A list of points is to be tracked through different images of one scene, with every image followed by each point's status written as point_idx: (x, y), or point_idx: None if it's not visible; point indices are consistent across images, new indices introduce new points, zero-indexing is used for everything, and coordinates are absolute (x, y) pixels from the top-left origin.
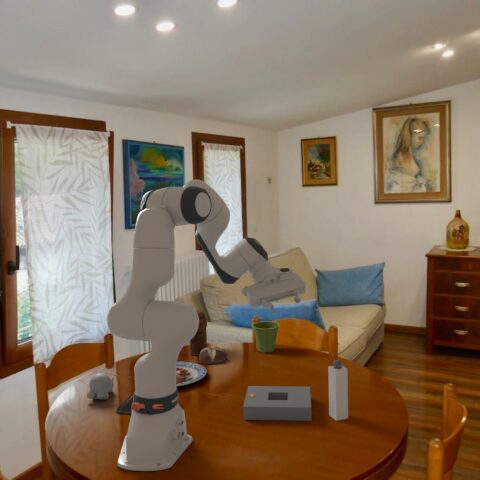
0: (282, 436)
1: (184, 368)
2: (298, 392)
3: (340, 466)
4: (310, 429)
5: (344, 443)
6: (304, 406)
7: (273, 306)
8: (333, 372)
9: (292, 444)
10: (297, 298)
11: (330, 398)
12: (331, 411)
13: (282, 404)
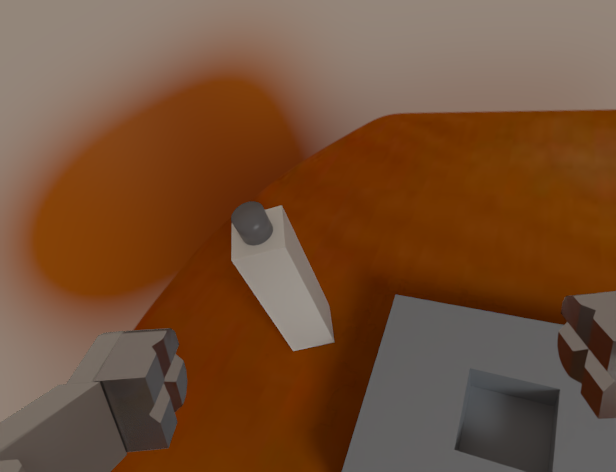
0: (512, 243)
1: None
2: (405, 435)
3: (402, 133)
4: (420, 269)
5: (358, 202)
6: (416, 304)
7: (569, 297)
8: (286, 223)
9: (488, 206)
10: (145, 330)
11: (318, 303)
12: (328, 319)
13: (496, 333)
